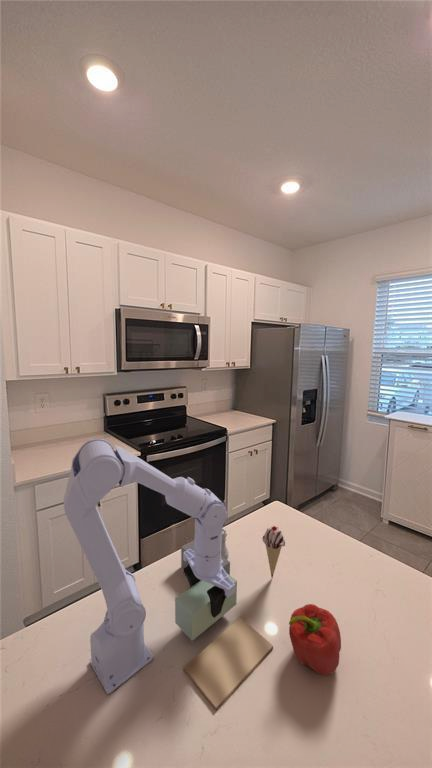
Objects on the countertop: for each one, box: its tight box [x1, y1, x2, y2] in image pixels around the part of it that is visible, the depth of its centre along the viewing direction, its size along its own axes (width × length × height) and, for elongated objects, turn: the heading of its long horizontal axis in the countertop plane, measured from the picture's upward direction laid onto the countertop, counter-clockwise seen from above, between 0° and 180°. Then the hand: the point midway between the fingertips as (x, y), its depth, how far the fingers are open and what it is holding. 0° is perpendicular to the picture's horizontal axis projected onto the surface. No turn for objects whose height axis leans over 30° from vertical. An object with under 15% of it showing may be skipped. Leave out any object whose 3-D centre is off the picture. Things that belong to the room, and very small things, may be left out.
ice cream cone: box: [262, 525, 286, 579], centre depth 82 cm, size 6×6×15 cm
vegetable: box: [288, 603, 342, 676], centre depth 62 cm, size 11×10×10 cm
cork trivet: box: [183, 617, 274, 711], centre depth 63 cm, size 16×9×1 cm, turn 133°
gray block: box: [180, 538, 231, 576], centre depth 84 cm, size 13×6×6 cm, turn 44°
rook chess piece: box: [221, 528, 229, 560], centre depth 91 cm, size 4×4×8 cm
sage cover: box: [174, 574, 238, 642], centre depth 70 cm, size 13×6×6 cm, turn 133°
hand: (206, 605), depth 70 cm, fingers closed on sage cover, 6 cm apart
